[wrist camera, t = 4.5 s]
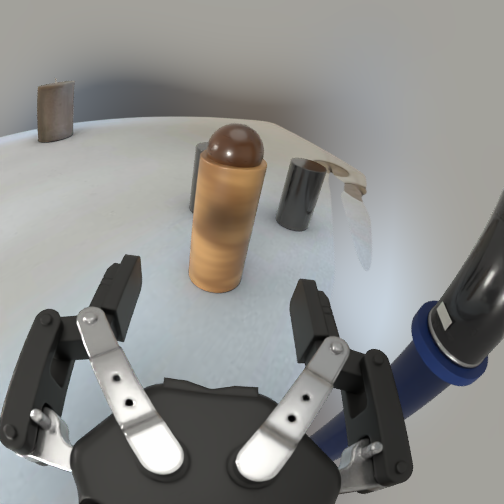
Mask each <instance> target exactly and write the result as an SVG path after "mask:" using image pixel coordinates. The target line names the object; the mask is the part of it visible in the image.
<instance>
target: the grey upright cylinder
mask: <svg viewBox="0 0 504 504" xmlns="http://www.w3.org/2000/svg"><path fill="white" fill-rule="evenodd" d="M207 145H208V142H204V143H199V144H197V145H196V152H195V160H194V168H193V177H192V186H191V196H190V210H191V211H192V212H193V213H194V204H195V194H196V185H197V177H198V169H199V161H200V154H201V153H202V152H203V151H204V150H207Z"/></svg>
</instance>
